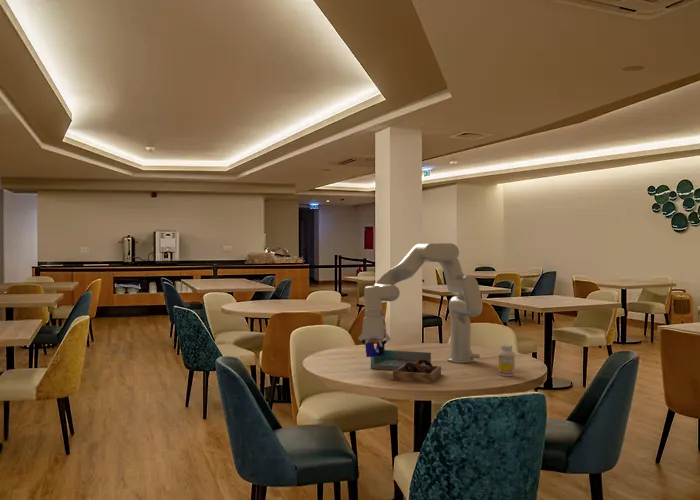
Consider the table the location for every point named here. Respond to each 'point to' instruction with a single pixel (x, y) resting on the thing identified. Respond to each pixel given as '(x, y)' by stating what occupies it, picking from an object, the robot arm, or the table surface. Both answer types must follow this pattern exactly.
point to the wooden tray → (417, 374)
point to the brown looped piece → (418, 366)
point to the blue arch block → (373, 350)
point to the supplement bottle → (506, 361)
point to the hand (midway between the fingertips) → (374, 354)
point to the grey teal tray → (398, 359)
